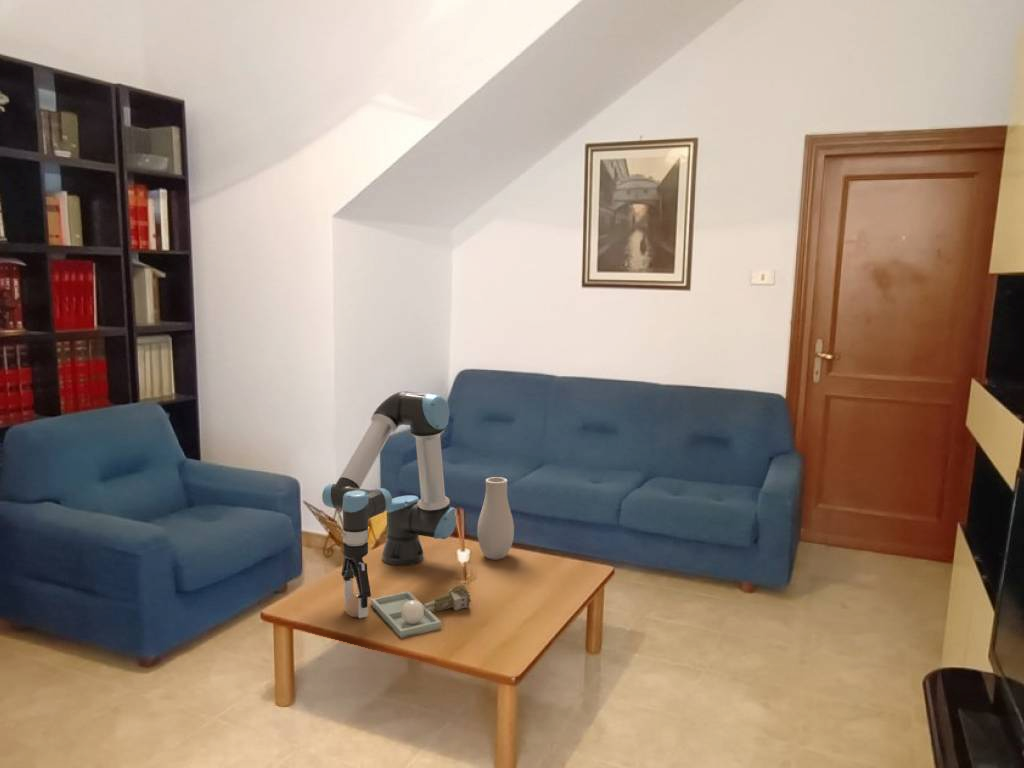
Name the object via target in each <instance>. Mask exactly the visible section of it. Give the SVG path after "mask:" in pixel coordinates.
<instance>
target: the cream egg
mask: <svg viewBox="0 0 1024 768" xmlns="http://www.w3.org/2000/svg"><path fill="white" fill-rule="evenodd" d="M419 601H420V600H419ZM419 601H417V600H409V601H407V602H406V603H404V605H403V606H402V609H401V616H402V618H403V620H404V621H405V622H407V623H409V624H415V623H418V622H419V621H420V620H421V619H422V618H423V615H424V607H423V605H424V604H423V603H422V602H421V601H420V602H421V603H422V604H423V605H422V604H421V603H420V602H419Z"/></svg>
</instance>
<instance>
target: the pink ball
mask: <svg viewBox="0 0 1024 768" xmlns="http://www.w3.org/2000/svg"><path fill="white" fill-rule="evenodd" d="M358 596H360V595H359V593H353V595H351V596H349V597H348V598H347V600H346V601H344V602H345V603H344V609H345V612H346V614H347V615H349V616H350V617H353V618H359V605H358Z"/></svg>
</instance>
